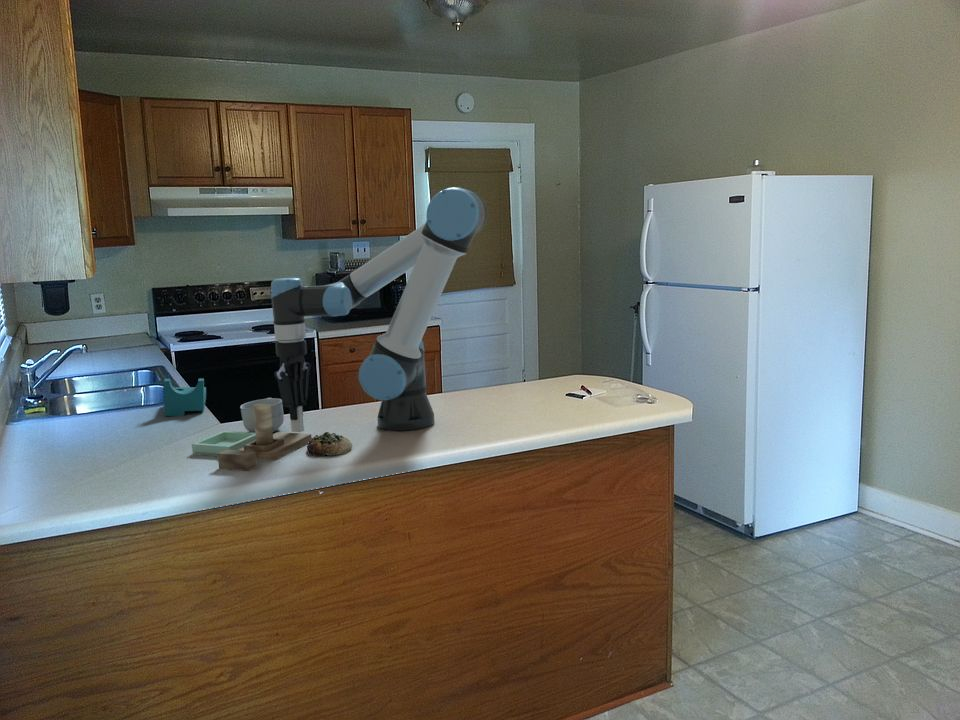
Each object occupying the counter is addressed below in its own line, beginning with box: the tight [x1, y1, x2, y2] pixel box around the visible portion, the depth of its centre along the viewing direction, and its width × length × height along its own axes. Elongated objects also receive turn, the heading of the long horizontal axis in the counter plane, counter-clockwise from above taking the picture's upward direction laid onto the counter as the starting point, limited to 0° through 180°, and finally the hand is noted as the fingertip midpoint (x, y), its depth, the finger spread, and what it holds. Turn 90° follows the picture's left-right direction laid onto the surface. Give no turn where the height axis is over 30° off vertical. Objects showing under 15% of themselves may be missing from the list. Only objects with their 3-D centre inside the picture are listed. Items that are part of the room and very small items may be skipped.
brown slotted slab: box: [239, 431, 312, 461], centre depth 187 cm, size 10×16×4 cm, turn 160°
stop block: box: [217, 450, 258, 472], centre depth 173 cm, size 8×3×4 cm, turn 70°
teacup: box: [239, 397, 285, 433], centre depth 204 cm, size 14×11×8 cm
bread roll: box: [306, 431, 353, 457], centre depth 184 cm, size 11×11×5 cm
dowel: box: [253, 403, 274, 446], centre depth 182 cm, size 4×4×10 cm
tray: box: [191, 430, 256, 457], centre depth 189 cm, size 11×12×2 cm
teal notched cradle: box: [163, 378, 207, 417], centre depth 234 cm, size 18×11×10 cm, turn 17°
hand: (297, 431), depth 196 cm, fingers closed
